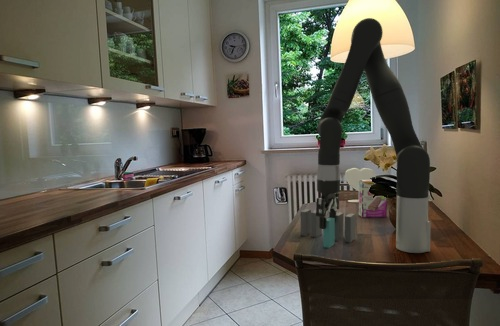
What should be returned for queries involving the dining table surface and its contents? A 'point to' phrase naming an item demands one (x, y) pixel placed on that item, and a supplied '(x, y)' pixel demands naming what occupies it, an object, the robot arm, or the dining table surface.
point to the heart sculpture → (358, 178)
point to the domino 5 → (349, 228)
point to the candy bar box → (370, 202)
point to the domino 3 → (329, 233)
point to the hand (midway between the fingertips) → (327, 225)
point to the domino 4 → (339, 226)
